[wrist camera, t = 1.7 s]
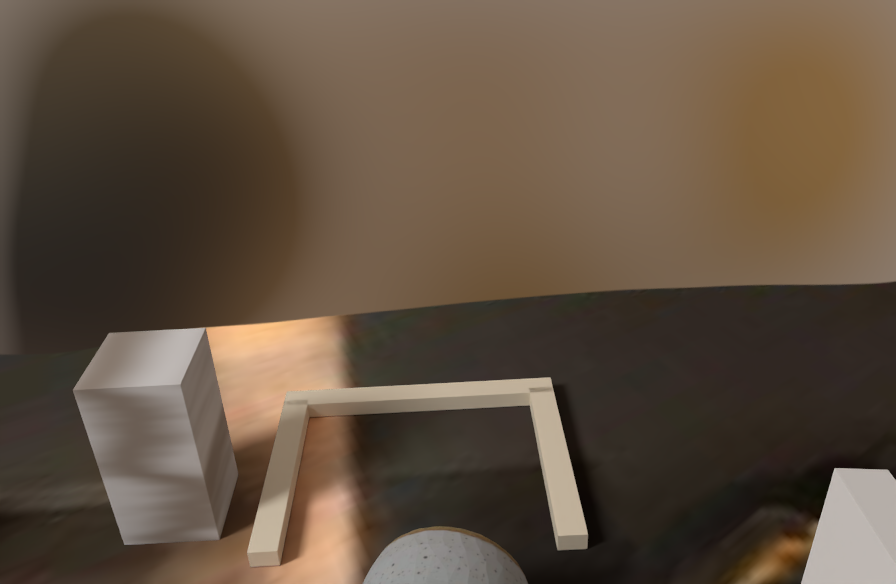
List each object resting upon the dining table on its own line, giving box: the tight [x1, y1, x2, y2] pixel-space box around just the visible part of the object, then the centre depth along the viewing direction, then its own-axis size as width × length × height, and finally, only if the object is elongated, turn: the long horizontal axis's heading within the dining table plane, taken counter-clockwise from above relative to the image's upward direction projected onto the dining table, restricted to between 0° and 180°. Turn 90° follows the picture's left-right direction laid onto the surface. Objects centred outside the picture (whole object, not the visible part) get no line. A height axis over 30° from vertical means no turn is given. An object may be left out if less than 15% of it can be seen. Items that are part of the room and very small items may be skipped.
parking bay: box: [247, 378, 588, 567], centre depth 46 cm, size 17×14×1 cm
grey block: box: [73, 328, 238, 545], centre depth 42 cm, size 5×5×10 cm
